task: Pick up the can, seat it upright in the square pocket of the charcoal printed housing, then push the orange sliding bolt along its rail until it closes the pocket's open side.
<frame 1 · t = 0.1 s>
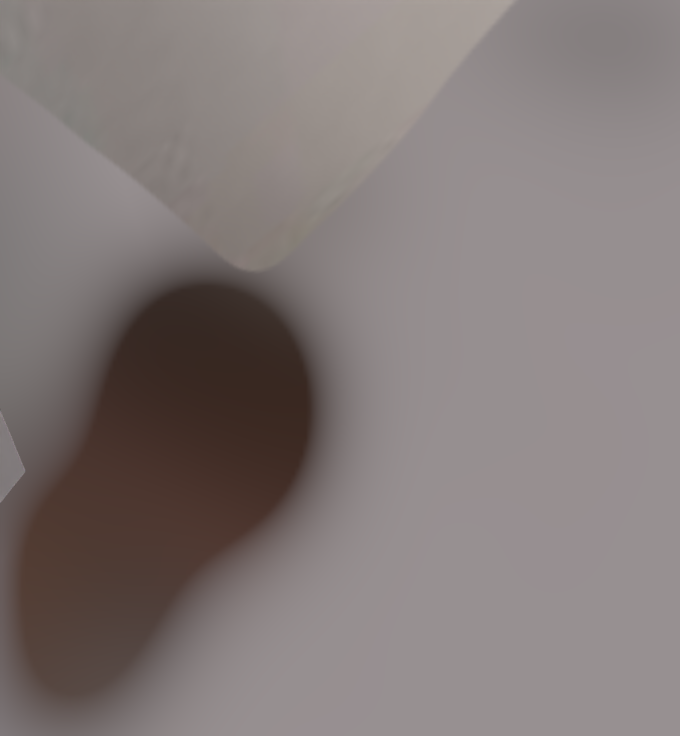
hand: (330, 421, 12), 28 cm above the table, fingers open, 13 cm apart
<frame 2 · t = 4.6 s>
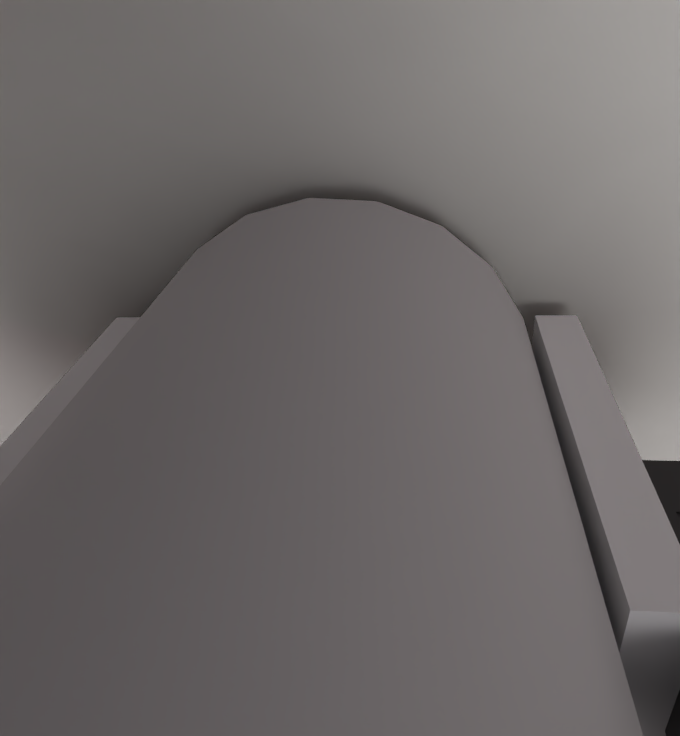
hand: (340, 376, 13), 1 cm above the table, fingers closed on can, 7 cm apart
can: (344, 354, 14), on the table, touching gripper
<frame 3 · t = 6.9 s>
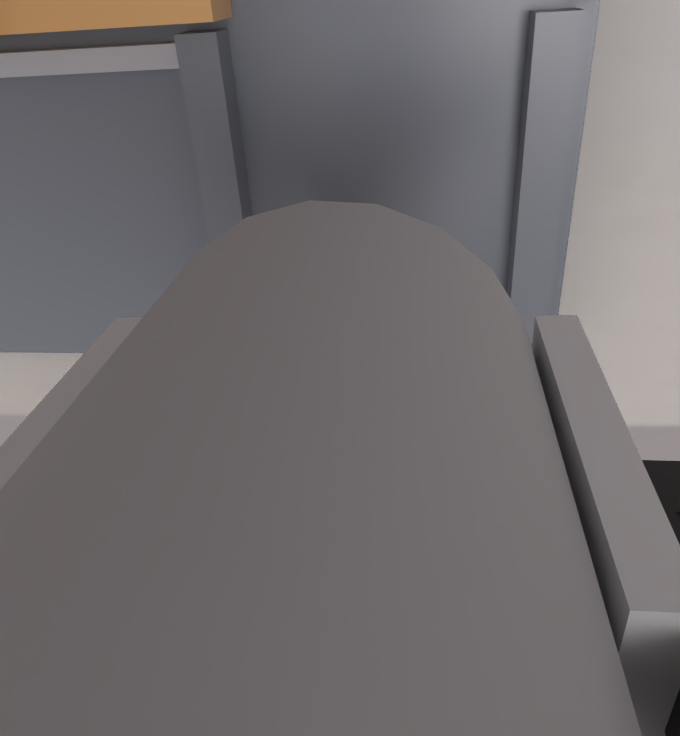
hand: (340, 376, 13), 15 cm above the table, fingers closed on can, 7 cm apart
can: (345, 356, 14), point 14 cm above the table, touching gripper
housing: (380, 177, 26), on the table
when the fingers open (4 cm above the table, at t = 9.4 s): can drops 2 cm, resting on housing.
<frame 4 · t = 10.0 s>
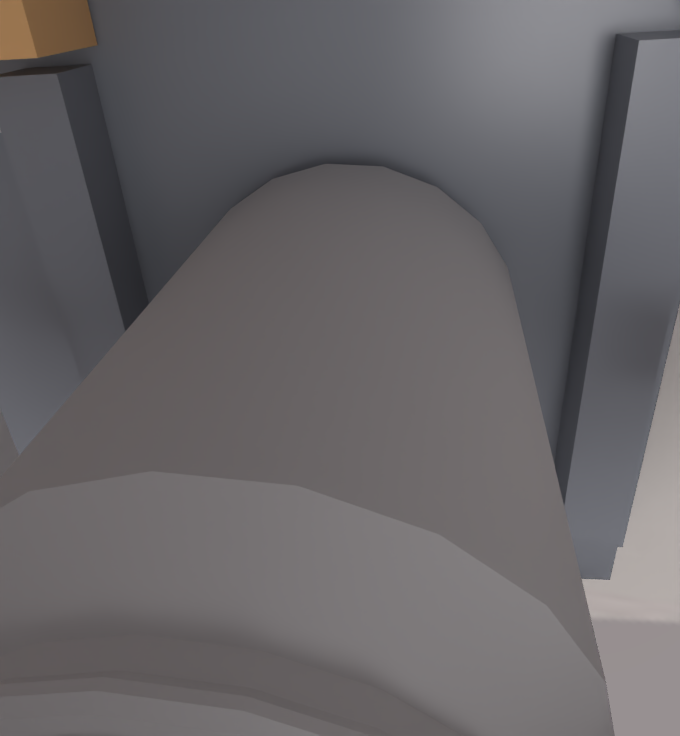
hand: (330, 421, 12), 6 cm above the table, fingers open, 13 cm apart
can: (355, 305, 16), point 1 cm above the table, touching housing
housing: (358, 291, 16), on the table
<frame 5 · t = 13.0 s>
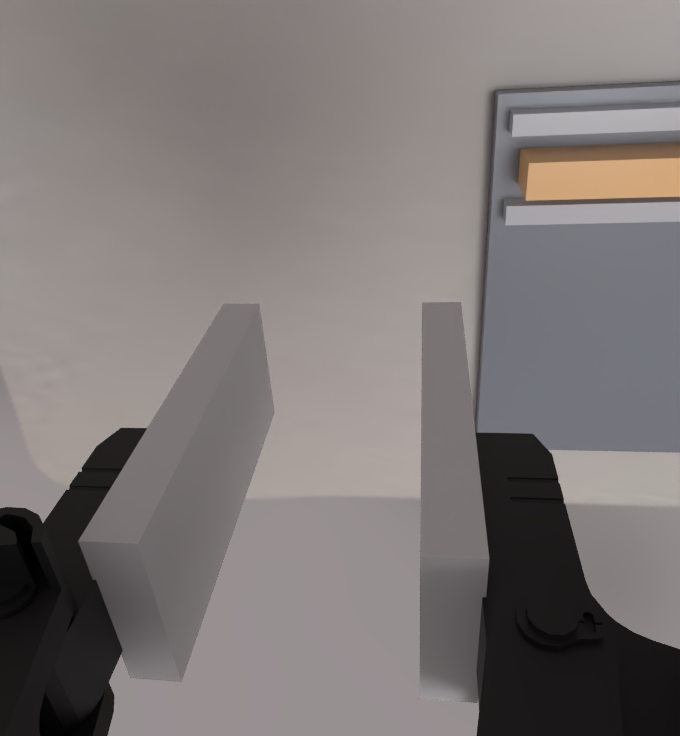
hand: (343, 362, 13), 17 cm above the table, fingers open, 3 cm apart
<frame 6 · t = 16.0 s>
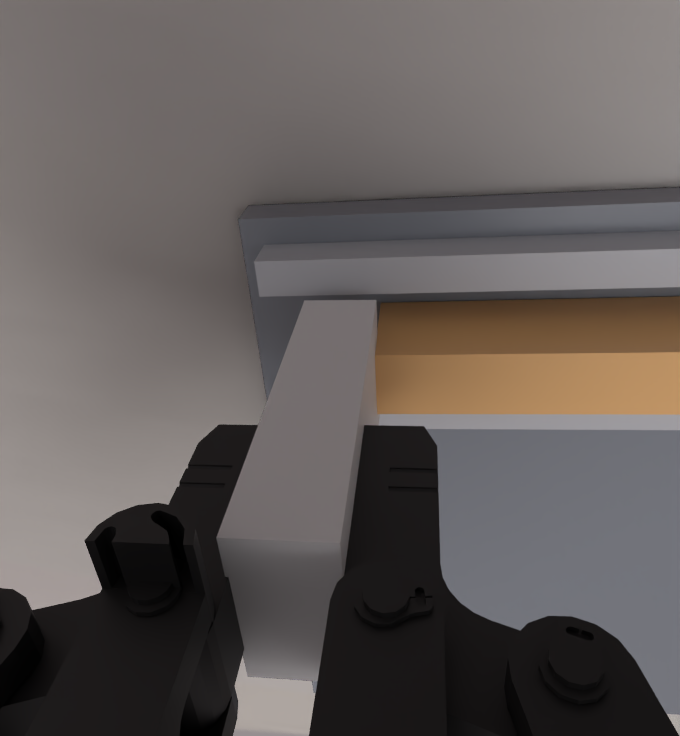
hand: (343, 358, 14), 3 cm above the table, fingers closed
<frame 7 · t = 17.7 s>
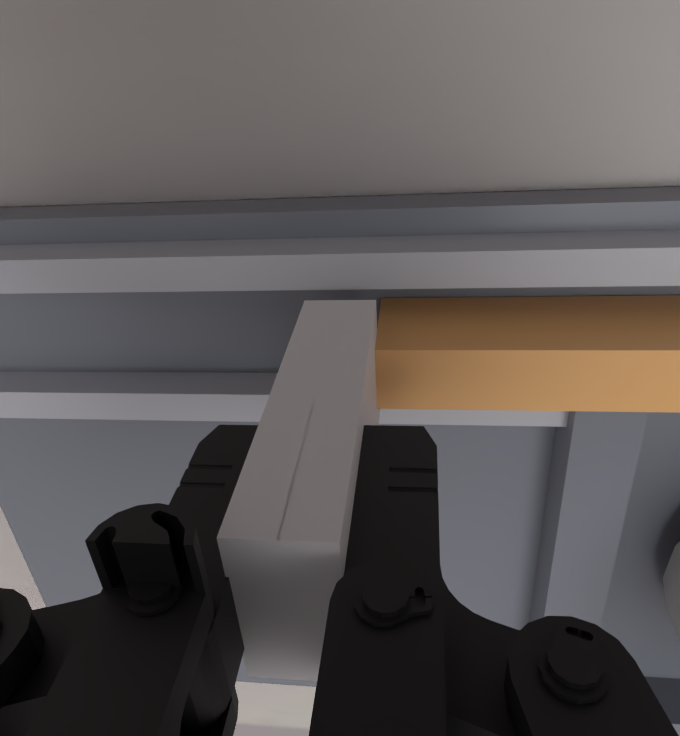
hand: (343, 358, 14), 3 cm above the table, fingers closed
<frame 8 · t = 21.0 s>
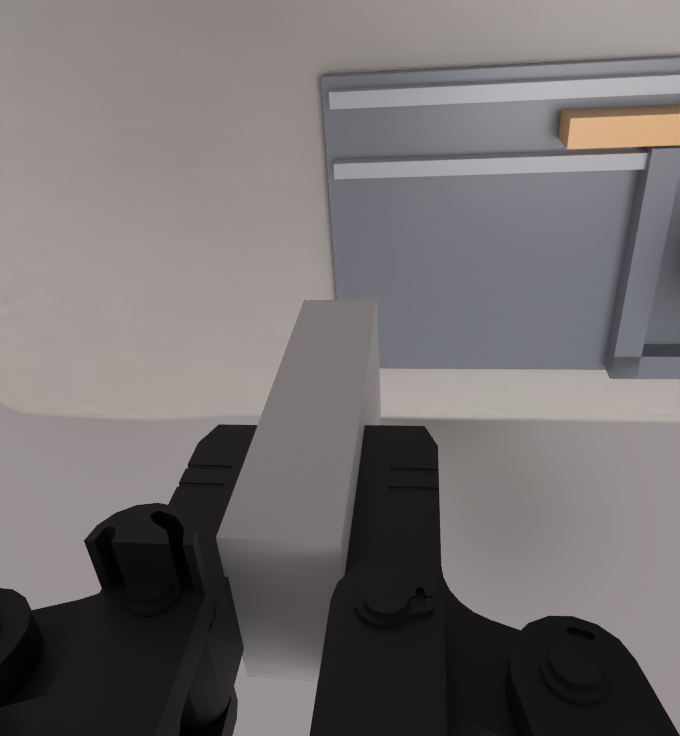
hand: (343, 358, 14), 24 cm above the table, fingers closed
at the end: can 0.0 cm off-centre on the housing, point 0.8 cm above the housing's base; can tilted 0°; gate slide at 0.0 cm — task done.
